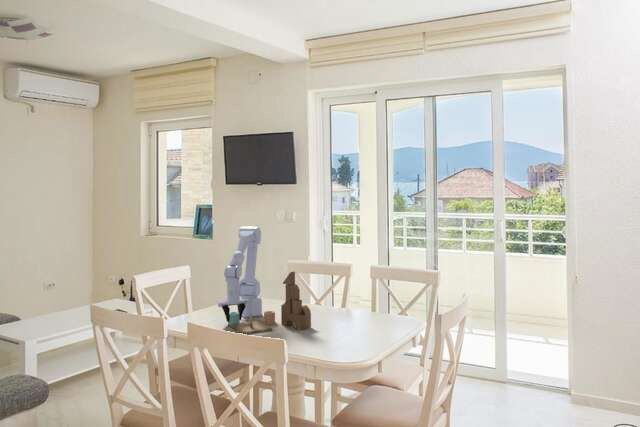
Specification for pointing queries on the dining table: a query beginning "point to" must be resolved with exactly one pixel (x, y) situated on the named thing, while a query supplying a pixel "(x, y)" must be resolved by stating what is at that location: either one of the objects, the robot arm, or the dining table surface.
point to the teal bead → (234, 317)
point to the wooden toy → (294, 306)
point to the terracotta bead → (269, 317)
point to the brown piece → (251, 327)
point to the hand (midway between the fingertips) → (233, 320)
